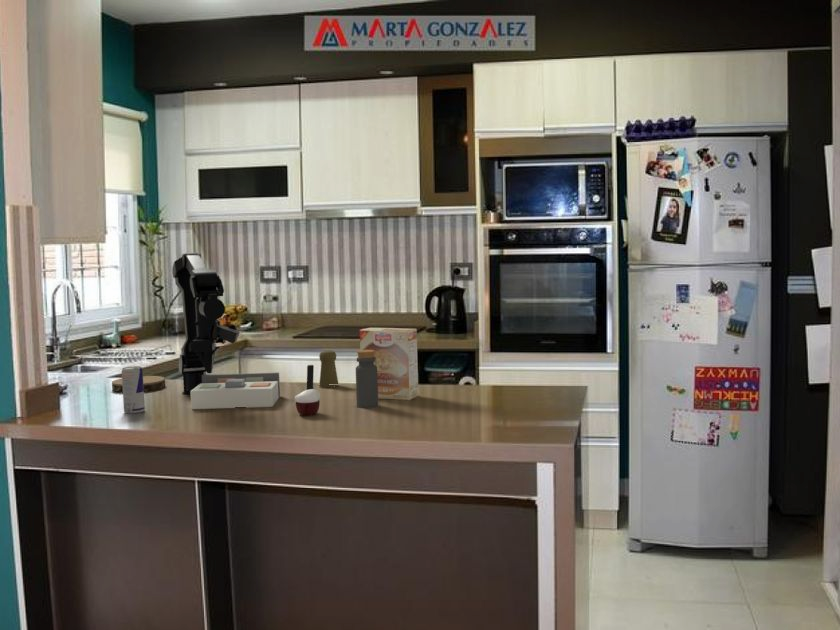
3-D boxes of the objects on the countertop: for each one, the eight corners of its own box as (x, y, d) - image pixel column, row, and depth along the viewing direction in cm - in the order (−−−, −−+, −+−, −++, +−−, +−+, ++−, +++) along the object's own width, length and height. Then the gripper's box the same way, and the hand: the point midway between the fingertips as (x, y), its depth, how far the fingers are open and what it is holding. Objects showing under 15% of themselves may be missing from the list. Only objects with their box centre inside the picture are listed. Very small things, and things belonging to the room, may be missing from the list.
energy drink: (149, 410, 227) (146, 366, 226) (136, 414, 222) (133, 369, 221) (132, 409, 229) (130, 366, 228) (119, 413, 224) (117, 369, 223)
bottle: (382, 404, 227) (380, 349, 225) (372, 408, 221) (370, 352, 220) (363, 403, 229) (361, 349, 228) (352, 407, 224) (350, 351, 222)
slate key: (225, 396, 230) (225, 381, 230) (229, 393, 235) (228, 379, 235) (242, 395, 231) (241, 381, 230) (245, 392, 235) (244, 378, 235)
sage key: (200, 401, 230) (199, 387, 230) (204, 398, 235) (203, 384, 235) (217, 401, 231) (216, 386, 230) (220, 398, 235) (220, 384, 235)
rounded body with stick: (308, 419, 212) (307, 373, 210) (288, 417, 214) (286, 371, 213) (329, 410, 220) (327, 366, 218) (309, 408, 223) (308, 364, 221)
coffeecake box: (360, 398, 237) (358, 329, 235) (371, 393, 243) (369, 327, 242) (409, 400, 231) (407, 330, 229) (419, 395, 238) (417, 327, 236)
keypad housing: (191, 409, 227) (189, 383, 226) (203, 398, 242) (202, 374, 241) (272, 406, 227) (271, 381, 227) (280, 396, 242) (279, 372, 242)
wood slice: (162, 392, 256) (162, 382, 256) (108, 395, 253) (107, 385, 252) (167, 383, 271) (167, 374, 271) (116, 386, 268) (115, 377, 268)
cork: (340, 384, 260) (339, 349, 259) (336, 387, 254) (335, 351, 253) (321, 384, 261) (320, 349, 260) (317, 387, 255) (315, 352, 254)
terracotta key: (251, 400, 231) (250, 385, 230) (254, 397, 235) (253, 382, 235) (268, 399, 231) (267, 385, 231) (270, 396, 235) (269, 382, 235)
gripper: (229, 319, 221) (232, 377, 223) (242, 313, 240) (244, 367, 241) (187, 320, 221) (190, 378, 222) (203, 314, 240) (205, 368, 241)
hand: (209, 373), depth 232 cm, fingers closed
